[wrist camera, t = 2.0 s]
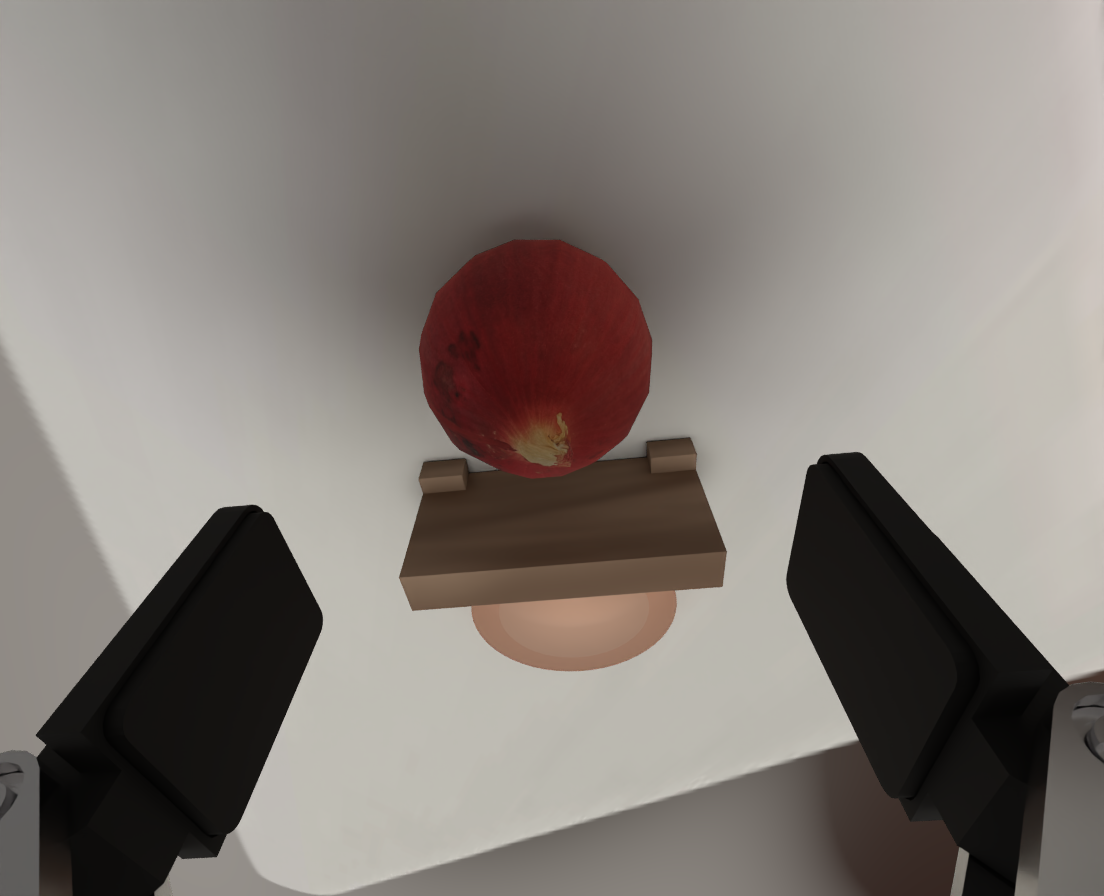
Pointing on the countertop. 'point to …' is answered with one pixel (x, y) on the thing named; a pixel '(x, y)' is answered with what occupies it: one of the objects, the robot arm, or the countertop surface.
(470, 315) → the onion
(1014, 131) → the countertop surface
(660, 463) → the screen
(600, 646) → the plate
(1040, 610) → the countertop surface
